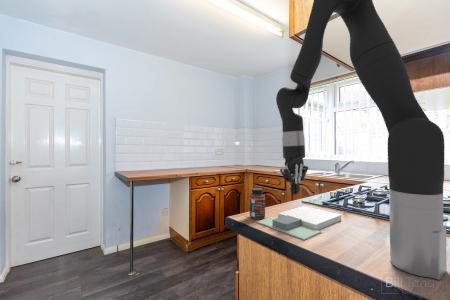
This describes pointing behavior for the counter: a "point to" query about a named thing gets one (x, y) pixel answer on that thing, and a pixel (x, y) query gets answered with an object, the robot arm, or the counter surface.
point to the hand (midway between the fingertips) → (295, 193)
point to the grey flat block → (287, 222)
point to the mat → (297, 232)
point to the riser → (312, 217)
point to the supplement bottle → (257, 204)
